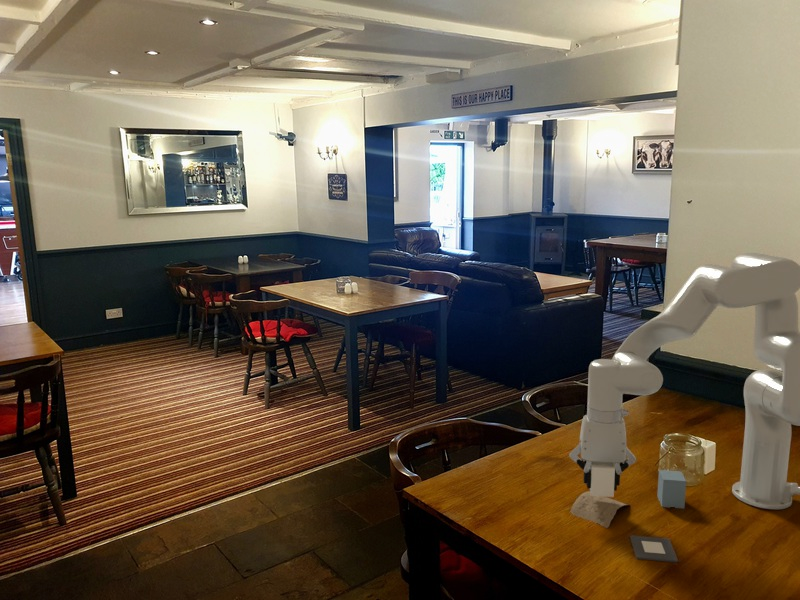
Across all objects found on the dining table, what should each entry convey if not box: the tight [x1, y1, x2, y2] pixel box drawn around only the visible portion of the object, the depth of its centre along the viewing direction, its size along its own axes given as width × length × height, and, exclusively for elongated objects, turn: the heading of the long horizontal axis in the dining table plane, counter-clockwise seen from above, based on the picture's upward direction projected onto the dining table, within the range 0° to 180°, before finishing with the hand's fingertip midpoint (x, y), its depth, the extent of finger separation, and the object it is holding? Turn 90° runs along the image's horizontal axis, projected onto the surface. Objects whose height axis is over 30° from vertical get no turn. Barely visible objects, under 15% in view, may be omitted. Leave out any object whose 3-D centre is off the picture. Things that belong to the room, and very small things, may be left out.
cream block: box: [589, 462, 615, 498], centre depth 145 cm, size 5×5×7 cm
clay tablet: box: [569, 490, 628, 529], centre depth 146 cm, size 14×10×3 cm
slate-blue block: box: [656, 469, 687, 509], centre depth 148 cm, size 5×5×7 cm
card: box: [629, 534, 679, 563], centre depth 130 cm, size 8×8×1 cm
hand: (601, 486), depth 145 cm, fingers open, 5 cm apart
